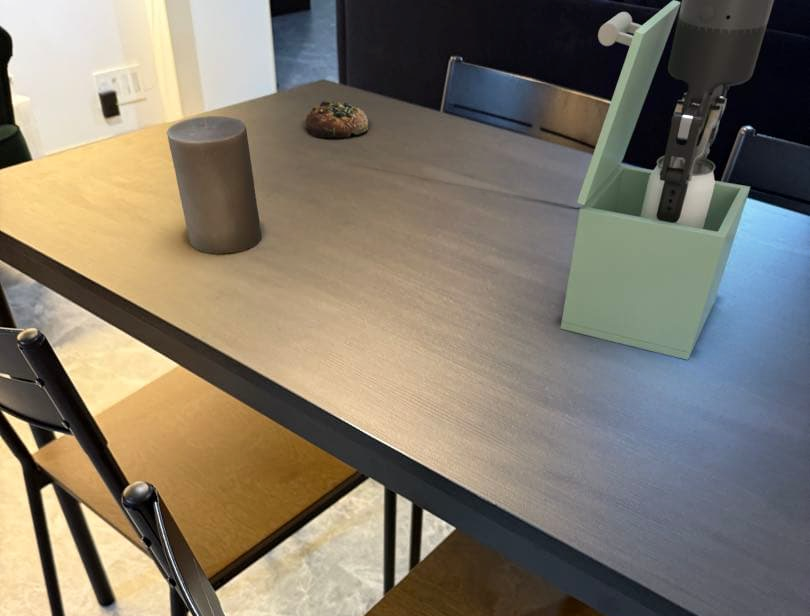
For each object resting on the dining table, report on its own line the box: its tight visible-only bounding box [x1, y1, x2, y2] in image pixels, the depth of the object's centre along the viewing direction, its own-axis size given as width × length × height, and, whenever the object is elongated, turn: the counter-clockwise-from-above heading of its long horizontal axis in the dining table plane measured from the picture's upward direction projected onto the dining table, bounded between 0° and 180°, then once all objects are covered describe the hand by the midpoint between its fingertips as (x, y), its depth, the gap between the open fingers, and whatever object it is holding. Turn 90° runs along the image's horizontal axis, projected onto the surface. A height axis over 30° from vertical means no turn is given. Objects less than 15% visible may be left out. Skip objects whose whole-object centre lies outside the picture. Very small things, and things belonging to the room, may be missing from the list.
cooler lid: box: [576, 0, 681, 206], centre depth 75 cm, size 15×14×5 cm
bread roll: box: [305, 100, 369, 139], centre depth 132 cm, size 11×11×5 cm
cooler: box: [560, 164, 751, 361], centre depth 83 cm, size 14×14×13 cm
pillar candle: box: [166, 115, 263, 255], centre depth 97 cm, size 10×10×15 cm
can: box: [641, 155, 716, 229], centre depth 80 cm, size 6×6×12 cm
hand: (675, 206), depth 79 cm, fingers closed on can, 6 cm apart
